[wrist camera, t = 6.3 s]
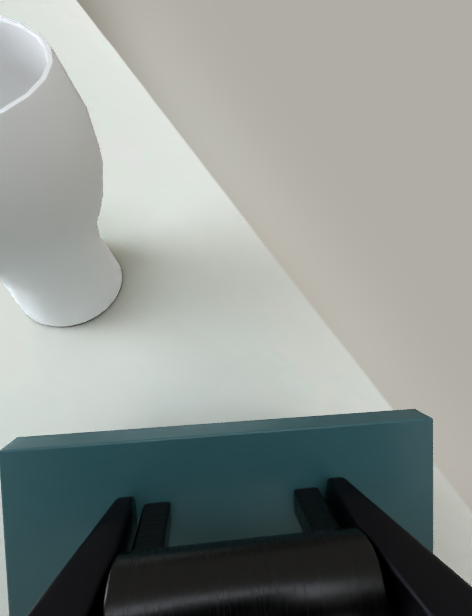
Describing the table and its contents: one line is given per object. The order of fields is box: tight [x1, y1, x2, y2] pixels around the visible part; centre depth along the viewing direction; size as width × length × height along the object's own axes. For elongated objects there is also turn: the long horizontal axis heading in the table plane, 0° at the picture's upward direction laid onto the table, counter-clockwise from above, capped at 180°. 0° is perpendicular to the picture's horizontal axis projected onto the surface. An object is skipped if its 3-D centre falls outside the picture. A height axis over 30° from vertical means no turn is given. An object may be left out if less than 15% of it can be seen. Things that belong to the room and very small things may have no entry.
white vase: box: [0, 15, 122, 327], centre depth 18 cm, size 11×11×15 cm
